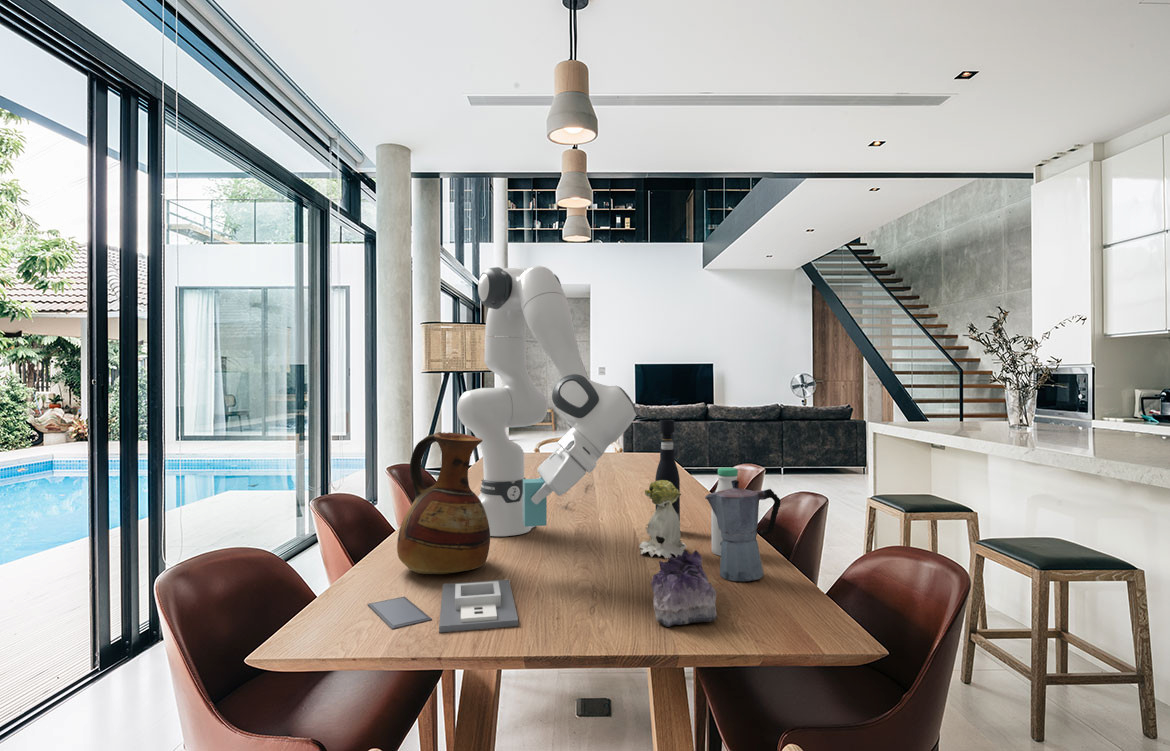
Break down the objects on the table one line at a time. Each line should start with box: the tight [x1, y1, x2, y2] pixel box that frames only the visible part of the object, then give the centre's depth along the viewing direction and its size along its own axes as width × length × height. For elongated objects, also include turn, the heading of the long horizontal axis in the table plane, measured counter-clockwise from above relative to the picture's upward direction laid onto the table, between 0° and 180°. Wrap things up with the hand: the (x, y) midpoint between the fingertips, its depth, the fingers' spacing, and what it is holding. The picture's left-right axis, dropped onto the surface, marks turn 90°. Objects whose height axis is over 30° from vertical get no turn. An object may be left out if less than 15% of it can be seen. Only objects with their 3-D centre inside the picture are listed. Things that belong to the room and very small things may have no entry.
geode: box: [650, 550, 718, 628], centre depth 115 cm, size 20×12×10 cm, turn 174°
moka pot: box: [704, 480, 782, 582], centre depth 133 cm, size 10×15×20 cm, turn 88°
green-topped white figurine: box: [638, 480, 688, 559], centre depth 152 cm, size 11×12×17 cm
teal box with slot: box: [523, 478, 548, 527], centre depth 134 cm, size 4×5×9 cm
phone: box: [367, 596, 433, 630], centre depth 114 cm, size 7×14×1 cm, turn 35°
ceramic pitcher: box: [396, 431, 491, 575], centre depth 139 cm, size 20×20×30 cm
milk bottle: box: [710, 466, 739, 557], centre depth 150 cm, size 8×8×20 cm
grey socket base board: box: [438, 578, 519, 633], centre depth 117 cm, size 22×13×3 cm, turn 11°
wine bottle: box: [654, 419, 681, 522], centre depth 170 cm, size 6×6×30 cm
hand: (531, 498), depth 134 cm, fingers closed on teal box with slot, 4 cm apart
